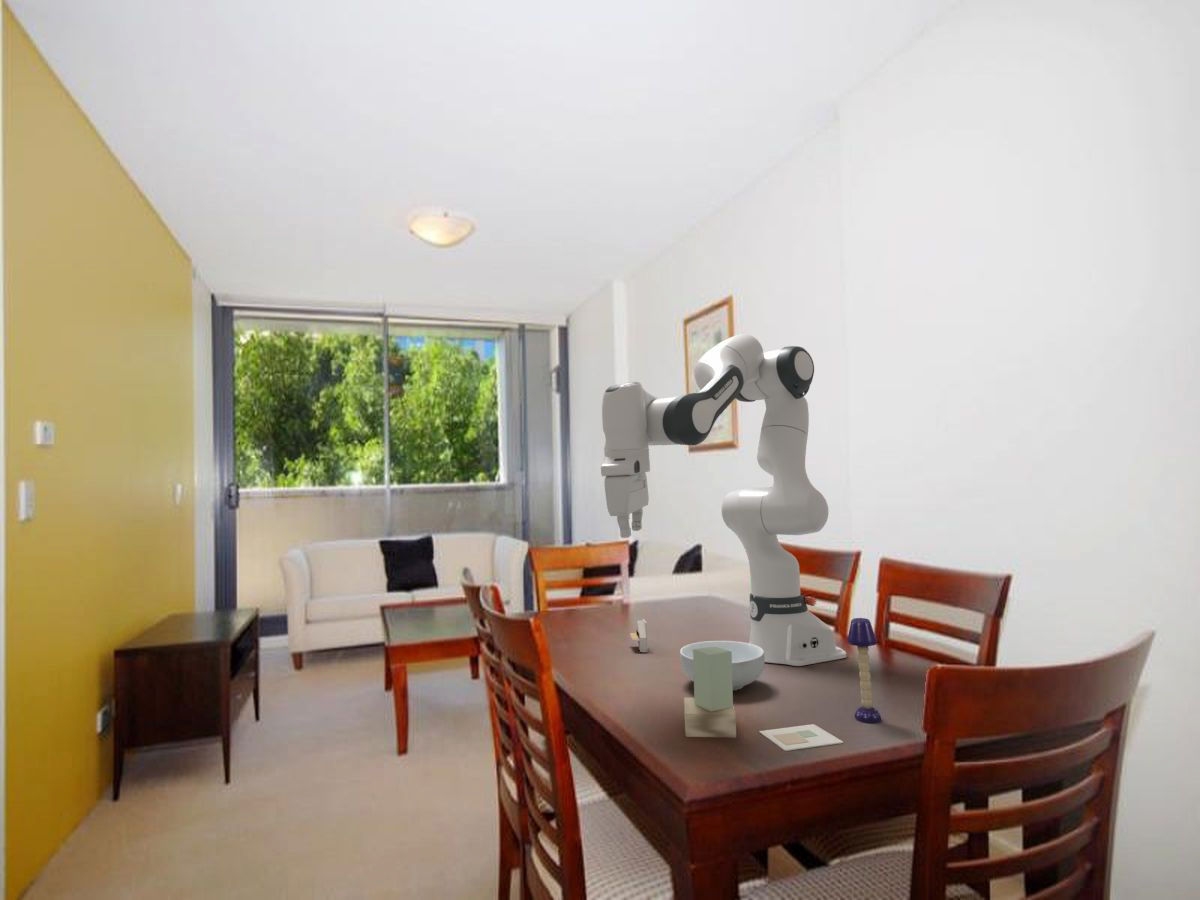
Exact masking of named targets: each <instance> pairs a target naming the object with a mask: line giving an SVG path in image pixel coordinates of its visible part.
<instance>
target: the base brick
mask: <svg viewBox="0 0 1200 900" xmlns="http://www.w3.org/2000/svg"><path fill="white" fill-rule="evenodd" d="M683 704H684V705H683V706H684V707H683V709H684V710H683V711H684V712H683V713H684V714H683V715H684V731H685V737H688V738H690V737H691V738H737V717H736V716H737V715H736V711H735V707H734V706H733V707H732V708H727V709H722V710H717V711H712V712H710V711H708V710H706V709H704V708H702V707H699V706H697V705H695V704H694V697H683Z"/></svg>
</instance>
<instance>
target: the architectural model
mask: <svg viewBox="0 0 1200 900" xmlns="http://www.w3.org/2000/svg"><path fill="white" fill-rule="evenodd" d="M635 629H636V632H629V635H630V638H631V639H632V641H634V642H635V641H638V642H637V643H638V644H637V645H638V650H640V651H639V653H640V652H647V653H649V652H648V623H647V621H646V620H645V619H644V618H642V620H637V628H635Z"/></svg>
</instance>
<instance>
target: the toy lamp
mask: <svg viewBox="0 0 1200 900" xmlns="http://www.w3.org/2000/svg"><path fill="white" fill-rule="evenodd" d="M877 642H878V641H877V637H876V635H875V632H874V628H873V626H872V623H871V621H870V619H868V618H865V617H855V618H854V617H853V618H852V619H851V620H850V625H849V630H848V636H847V643H848V645H851V646H854V647H855V646H856V647H857V648H856V649H857V651H858V653H857V654H858V655H857V658H858V659H857V660H858V669H859V674H858V675H859V679H860V681H859V687H860V696H861V703H860V704H861V706H859V707H858V708H857V709H856V710H855V712H854V718H855V719H856V721H859V722H862V723H866V724H875V723H880V722H881V721H882V716H881V713H880V712H879V710H877V709H876V708H875V707H873V704H874V703H873V700H872V697H873V694H872V692H873V691H872V690H871V689H872V683H871V673H870V669H871V666H870V663H869V662H870V655H869V647H871V646H875V645H876V644H877Z"/></svg>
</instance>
